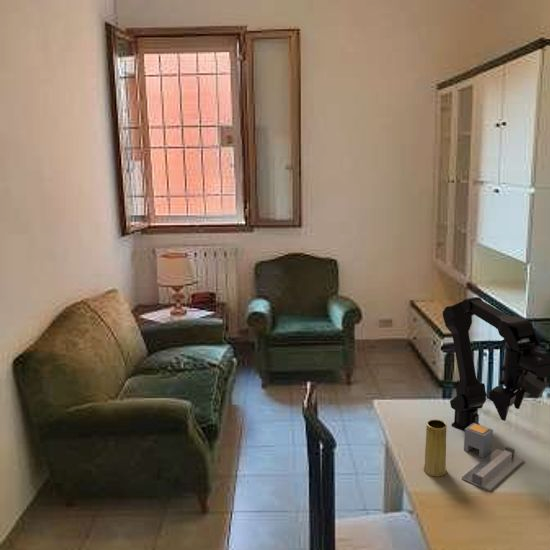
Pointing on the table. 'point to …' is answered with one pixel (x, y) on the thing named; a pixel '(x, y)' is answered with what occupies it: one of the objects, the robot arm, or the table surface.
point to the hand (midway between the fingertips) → (510, 414)
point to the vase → (435, 448)
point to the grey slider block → (478, 439)
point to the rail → (495, 475)
